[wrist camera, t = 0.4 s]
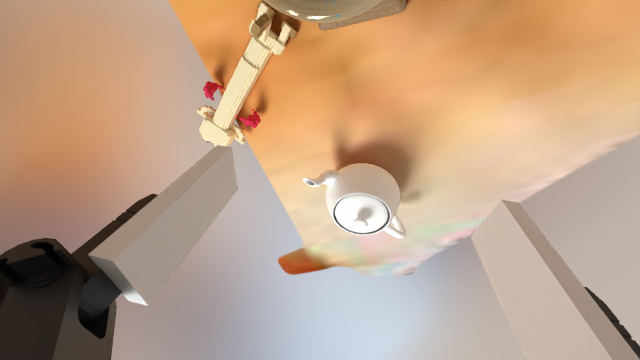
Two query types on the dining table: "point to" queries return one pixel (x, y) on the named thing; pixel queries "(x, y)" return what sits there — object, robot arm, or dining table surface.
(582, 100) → the dining table surface
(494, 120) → the dining table surface
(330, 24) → the candle holder
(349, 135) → the dining table surface
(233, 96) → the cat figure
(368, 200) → the teapot
